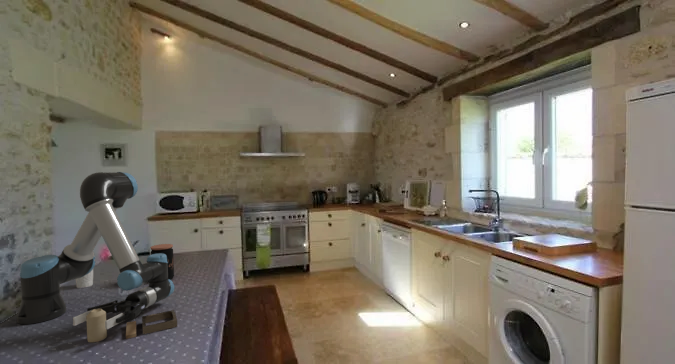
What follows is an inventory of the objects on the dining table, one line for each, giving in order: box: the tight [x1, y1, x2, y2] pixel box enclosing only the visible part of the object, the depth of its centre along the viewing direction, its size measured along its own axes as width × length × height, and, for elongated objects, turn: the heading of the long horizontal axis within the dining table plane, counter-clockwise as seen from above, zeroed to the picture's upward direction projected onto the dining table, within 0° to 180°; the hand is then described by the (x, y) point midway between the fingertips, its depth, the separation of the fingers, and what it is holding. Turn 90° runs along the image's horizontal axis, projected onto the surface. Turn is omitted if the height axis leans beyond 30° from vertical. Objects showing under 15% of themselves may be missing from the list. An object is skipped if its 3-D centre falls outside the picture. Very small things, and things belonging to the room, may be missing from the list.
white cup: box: [74, 269, 94, 289], centre depth 175 cm, size 8×8×10 cm
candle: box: [85, 309, 108, 343], centre depth 118 cm, size 6×6×10 cm
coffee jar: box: [150, 243, 175, 281], centre depth 182 cm, size 11×11×18 cm
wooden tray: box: [141, 309, 178, 335], centre depth 127 cm, size 11×11×2 cm
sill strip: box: [125, 320, 137, 340], centre depth 123 cm, size 3×12×1 cm, turn 31°
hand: (89, 323), depth 115 cm, fingers open, 13 cm apart
